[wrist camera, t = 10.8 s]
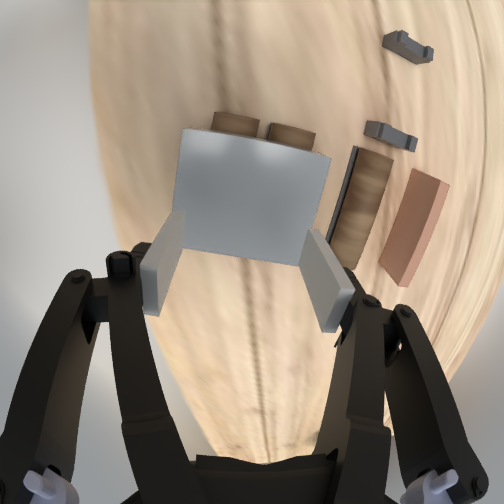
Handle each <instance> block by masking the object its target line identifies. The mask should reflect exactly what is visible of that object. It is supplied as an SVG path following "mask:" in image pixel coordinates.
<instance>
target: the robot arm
mask: <svg viewBox="0 0 504 504" xmlns="http://www.w3.org/2000/svg"><path fill="white" fill-rule="evenodd" d="M184 218H185V211H181V210H173V211H172V212H171V214H170V215H169V217H168V218H167V220H166V222H165V223H164V225H163V226H162V228H161V230H160V231H159V233H158V234H157V236H156V238H155V239H154V241H153V243H145V242H141V243H139V244H137V245H136V246H134V248H133V249H132V251H131V252H128V251H116V252H113V253H110V254H109V255H108V256H107V258H106V266H107V274H108V277H106V278H94V279H92V275H91V273H90V272H89V271H87V270H84V269H76V270H73V271H71V272H69V273H68V274H67V275H66V277H65V278H64V280H63V281H62V283H61V285H60V287H59V289H58V291H57V292H56V294H55V296H54V298H53V300H52V302H51V304H50V306H49V308H48V310H47V312H46V314H45V316H44V318H43V320H42V322H41V324H40V326H39V329H38V331H37V333H36V336H35V338H34V340H33V342H32V345H31V347H30V349H29V352H28V354H27V357H26V360H25V362H24V365H23V367H22V370H21V373H20V376H19V379H18V382H17V385H16V388H15V391H14V394H13V397H12V401H11V404H10V408H9V412H8V416H7V420H6V424H5V429H4V432H3V433H2V435H1V436H0V504H79V496H78V493H77V491H76V489H75V488H74V487H73V485H72V484H70V483H71V479H72V475H73V471H74V464H75V455H76V444H77V435H78V427H79V419H80V413H81V406H82V400H83V395H84V390H85V384H86V379H87V375H88V370H89V366H90V361H91V357H92V353H93V349H94V345H95V341H96V337H97V334H98V330H99V327H100V323H101V322H109V327H110V341H111V352H112V361H113V369H114V376H115V383H116V389H117V395H118V401H119V406H120V411H121V416H122V424H121V428H122V434H123V438H124V442H125V446H126V450H127V454H128V457H129V461H130V464H131V468H132V471H133V474H134V477H135V481H136V484H137V487H138V489H139V490H138V491H137V492H135V493H134V494H133V495H131V496H130V497H129V498H128V499H126V500H125V501H123V502H122V503H121V504H398V503H396V502H395V501H394V500H392V499H391V498H389V497H388V496H387V495H385V487H386V481H387V473H388V466H389V457H390V446H391V430H390V428H389V427H385V426H384V425H383V417H384V394H385V392H386V397H387V401H388V406H389V410H390V415H391V420H392V425H393V430H394V436H395V441H396V447H397V453H398V460H399V466H400V471H401V476H402V479H403V482H404V486H405V488H406V493H404V494H403V495H402V496H401V498H400V503H401V504H471V503H473V502H475V501H477V500H479V499H481V498H482V497H483V496H484V495H485V493H486V492H487V489H488V486H489V481H488V477H487V474H486V472H485V470H484V469H483V467H482V465H481V463H480V461H479V460H478V458H477V456H476V454H475V453H474V451H473V449H472V448H471V446H470V444H469V443H468V441H467V437H466V433H465V430H464V427H463V424H462V421H461V418H460V415H459V412H458V409H457V406H456V403H455V401H454V398H453V395H452V392H451V390H450V387H449V385H448V382H447V380H446V377H445V375H444V372H443V370H442V368H441V365H440V363H439V361H438V358H437V356H436V354H435V352H434V350H433V347H432V345H431V343H430V341H429V339H428V337H427V335H426V333H425V331H424V329H423V327H422V325H421V323H420V321H419V319H418V317H417V315H416V313H415V312H414V310H412V309H411V308H410V307H409V306H407V305H403V304H398V305H396V306H395V308H394V310H393V311H392V310H388V309H385V308H382V305H381V303H380V301H379V300H378V299H376V298H375V297H373V296H371V295H368V294H366V293H365V291H364V289H363V288H362V286H361V284H360V283H359V281H358V280H357V279H356V276H355V275H354V273H353V272H352V271H351V270H350V269H348V268H347V267H342V266H341V264H340V262H339V261H338V259H337V258H336V256H335V254H334V253H333V251H332V249H331V248H330V246H329V245H328V243H327V241H326V240H325V238H324V237H323V235H322V233H321V232H320V230H318V229H312V228H308V231H307V235H306V238H305V242H304V246H303V249H302V253H301V256H300V260H299V263H298V265H299V268H300V270H301V273H302V276H303V279H304V282H305V284H306V287H307V290H308V293H309V296H310V299H311V302H312V305H313V307H314V310H315V313H316V316H317V319H318V322H319V325H320V328H321V331H322V332H325V333H336V331H337V329H338V326H339V324H340V326H341V328H342V332H341V334H340V336H339V338H338V339H337V341H336V343H335V345H334V347H335V348H336V346H337V345H338V346H337V352H336V358H335V363H334V369H333V374H332V379H331V384H330V389H329V394H328V398H327V403H326V407H325V411H324V416H323V420H322V424H321V428H320V432H319V435H318V439H317V443H316V446H315V449H314V451H313V453H312V454H311V455H306V456H296V457H293V458H289V459H286V460H282V461H279V462H275V463H272V464H268V465H261V464H256V463H251V462H247V461H243V460H239V459H235V458H231V457H218V456H206V455H196V461H189V459H188V457H187V454H186V452H185V449H184V447H183V444H182V442H181V439H180V437H179V434H178V431H177V428H176V426H175V423H174V421H173V418H172V416H171V415H170V412H169V410H168V406H167V403H166V400H165V397H164V394H163V391H162V387H161V384H160V380H159V377H158V373H157V369H156V366H155V362H154V358H153V354H152V350H151V346H150V342H149V337H148V333H147V328H146V323H145V319H144V314H146V315H152V316H158V317H159V315H160V312H161V309H162V306H163V303H164V300H165V297H166V294H167V291H168V288H169V286H170V283H171V280H172V277H173V274H174V272H175V269H176V266H177V263H178V261H179V258H180V255H181V252H182V250H183V232H184ZM142 306H143V308H142ZM143 312H144V314H143ZM400 343H401V344H402V347H401V350H400V349H399V345H400Z"/></svg>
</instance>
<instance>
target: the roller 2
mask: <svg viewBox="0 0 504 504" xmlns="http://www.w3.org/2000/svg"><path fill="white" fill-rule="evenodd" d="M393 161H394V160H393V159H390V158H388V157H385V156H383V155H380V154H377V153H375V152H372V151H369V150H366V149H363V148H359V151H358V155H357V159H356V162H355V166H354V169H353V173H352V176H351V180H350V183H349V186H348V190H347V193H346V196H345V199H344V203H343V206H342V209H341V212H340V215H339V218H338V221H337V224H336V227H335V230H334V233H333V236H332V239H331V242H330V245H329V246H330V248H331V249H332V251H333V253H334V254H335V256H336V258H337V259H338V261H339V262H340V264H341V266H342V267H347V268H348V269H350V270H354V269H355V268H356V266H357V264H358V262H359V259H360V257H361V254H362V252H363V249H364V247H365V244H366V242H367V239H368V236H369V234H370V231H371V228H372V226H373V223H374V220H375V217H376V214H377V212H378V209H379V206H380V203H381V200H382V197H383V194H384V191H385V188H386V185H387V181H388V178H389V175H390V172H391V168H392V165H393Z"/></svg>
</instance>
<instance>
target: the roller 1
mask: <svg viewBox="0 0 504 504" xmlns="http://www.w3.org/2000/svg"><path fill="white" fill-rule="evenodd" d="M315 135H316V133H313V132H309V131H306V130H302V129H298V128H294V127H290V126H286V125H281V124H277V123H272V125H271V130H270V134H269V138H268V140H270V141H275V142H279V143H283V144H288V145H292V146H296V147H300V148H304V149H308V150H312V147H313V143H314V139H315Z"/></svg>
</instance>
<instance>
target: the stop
mask: <svg viewBox="0 0 504 504" xmlns="http://www.w3.org/2000/svg"><path fill="white" fill-rule="evenodd" d="M449 187H450V185H449V184H447V183H445V182H443V181H441V180H439V179H436V178H434V177H432V176H430V175H427V174H425V173H423V172H420V171H418V170H415V169H412V172H411V175H410V179H409V182H408V185H407V188H406V191H405V194H404V197H403V200H402V203H401V206H400V209H399V212H398V214H397V217H396V220H395V222H394V225H393V228H392V230H391V233H390V235H389V238H388V240H387V243H386V245H385V248H384V250H383V253H382V255H381V257H380V260H379V263H380V264H381V265H382V267H383V268H384V269H385V270H386V272H387V273H388V274H389V275H390V277H391V278H392V279H393V280H394V282H395V283H396V284H397V286H401V287H408V286H409V284H410V282H411V280H412V278H413V276H414V274H415V272H416V270H417V268H418V265H419V263H420V261H421V259H422V257H423V255H424V252H425V250H426V248H427V246H428V243H429V241H430V239H431V236H432V234H433V231H434V229H435V226H436V224H437V221H438V218H439V216H440V213H441V210H442V208H443V205H444V202H445V199H446V196H447V193H448V190H449Z"/></svg>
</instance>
